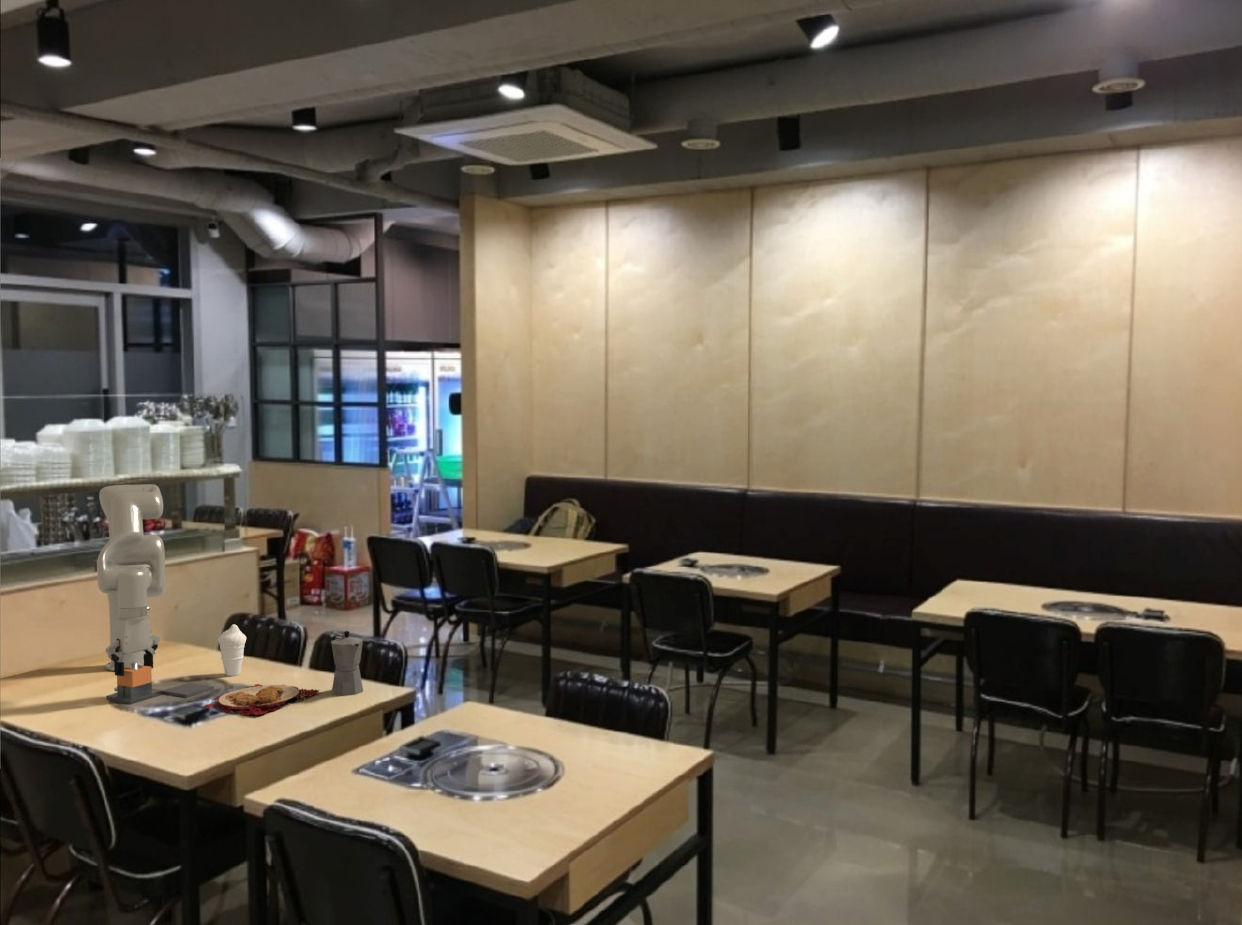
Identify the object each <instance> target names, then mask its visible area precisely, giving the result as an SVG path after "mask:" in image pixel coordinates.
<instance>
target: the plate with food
mask: <svg viewBox="0 0 1242 925" xmlns="http://www.w3.org/2000/svg"><path fill="white" fill-rule="evenodd" d="M319 692H320V689H314V688H311V689H306V688H304V689H303V688H301V689H300V688H299V687H298V686H297V687H296V686H293V685H290V686H289V685H286V684H269V685H267V684H265V685H263V684H259V683H256V684H253V686H249V687H243V688H240V689H237V690H230V691H228V692H225V693H224V694H222V695H220V696H216V697H215V698H214V699H213V700H214V701H213V700H211V702H212V703H209V704H205V705H204V706H202V707H201V709H209V708H211V707H212V709H215V708H218V709H219V710H220V713H226V714H234V713H235V711H234V710H236V713H239V715H242V716H253V715H254V716H259V715H260V716H261V715H266V714H267V713H268V712H272V713H273V712H275V711H277V709H280V708H283V707H285V706H286V705H287V706H290V705H291V703H289V702H287V701H289V700H290V699H293V698H296V701H295V703H296V702H300V701H305V700H306V699H307V698H308V697H311V696H314V695H317V694H318V693H319ZM285 702H287V703H285ZM214 703H216V704H214ZM222 709H223V711H222ZM247 709H248V710H249V711H248V710H247ZM219 710H217V712H218V711H219Z"/></svg>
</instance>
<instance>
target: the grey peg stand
mask: <svg viewBox="0 0 1242 925" xmlns="http://www.w3.org/2000/svg"><path fill="white" fill-rule="evenodd" d="M136 669H138V662H132V663H130V670H136ZM113 691H115V693H111V694H108V695H105V701H110V702H116V703H120V704H121V703H122V704H123V703H124V704H127V705H132V704H136V703H139V702H141V701H142V702H143V701H145V700H149V699H152V698H155V697H159V696H161V695H164V694H163V690H162V689H157V688H153V686H152V682H150V683H147V684H143V685H140V686H136V687H127V686H121V685H117V684H116V687H114V689H113Z"/></svg>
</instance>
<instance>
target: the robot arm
mask: <svg viewBox="0 0 1242 925" xmlns="http://www.w3.org/2000/svg"><path fill="white" fill-rule="evenodd" d="M99 502H100V506H101V509H102V511H103V513H104V515H105V517H106V519H107V522H108V528H109V530H108V532H109V533H108V535H109V537H108V538H109V540H108V542H107V543H106V544H105V545H104V546H103V548H102V549H101V551H100V553H99V555H98V558H97V560H96V562H97V563H96V570H97V571H96V574H97V575H96V576H97V578H96V579H97V587H98V589H99V590H100V591H101V592H102V593H103V594H107V602H108V610H109V611H108V614H109V645H108V646H107V647H106V648H105V652H106V654H107V655H108V658H109V659H110V661H109V662H108V663H106V664H105V669H106V670H107V671H114V676H116V677H117V676H124V667H128V666H130V663H132V662H138V665H143V666H150V667H151V670H153V669H154V656H155V655H156V652H157V651H156V650H157V649H158V648H159V647H158V646H159V644H160V641H161V637H159V636H157V635H154V634H153V631H152V624H151V619H150V616H149V614H148V611H150V606H149V605H148V598H156V597H160V596H162V595H164V593H165V591H166V556H165V555H166V554H165V545H164V541H163V539H162V537H161V536H159V535H157V534H156V535H155V534H145V535H144V525H143V524H144V523H143V520H151V519H153V520H155V519H159V518H161V517H162V516H163V513H164V499H163V495H162V493H161V490H160V487H159V486H158V485H156V484H153V483H152V484H151V483H150V484H147V483H146V484H117V485H116V484H114V485H107V486H104V487H103V488H101V489H100V491H99ZM109 561H111V563H112V564H113V565H116V566H117V567H109V566H108V563H109ZM144 565H146V566H144ZM118 566H119V567H118ZM147 566H149V567H147Z"/></svg>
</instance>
